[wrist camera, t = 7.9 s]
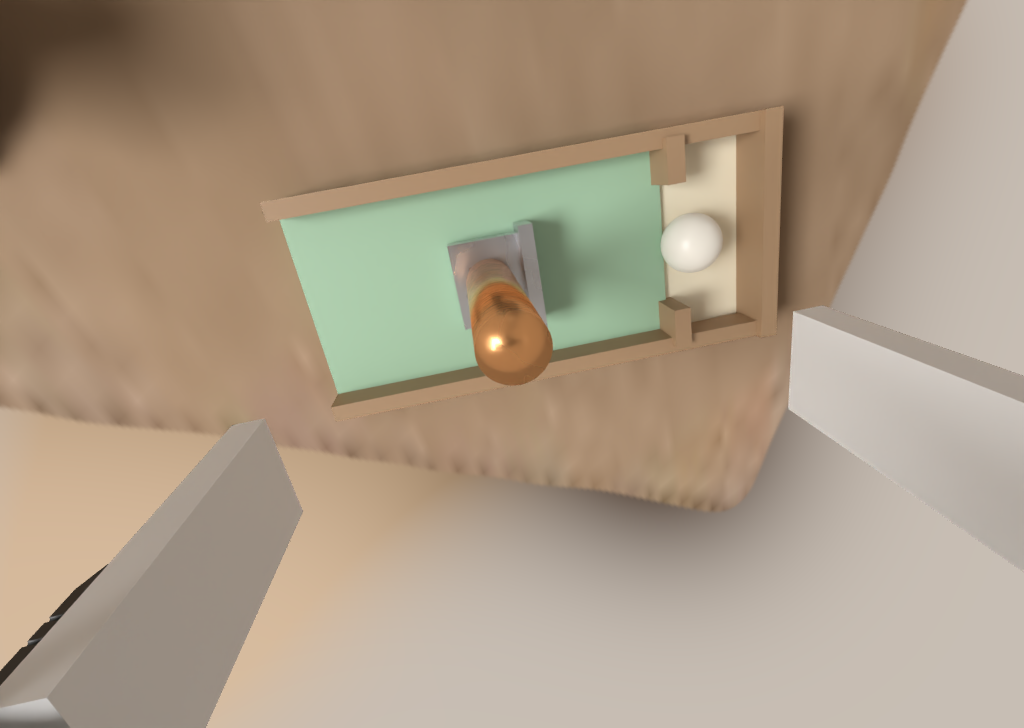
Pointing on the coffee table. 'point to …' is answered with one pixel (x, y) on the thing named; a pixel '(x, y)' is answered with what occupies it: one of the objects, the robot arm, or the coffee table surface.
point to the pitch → (541, 256)
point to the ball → (691, 242)
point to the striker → (503, 303)
